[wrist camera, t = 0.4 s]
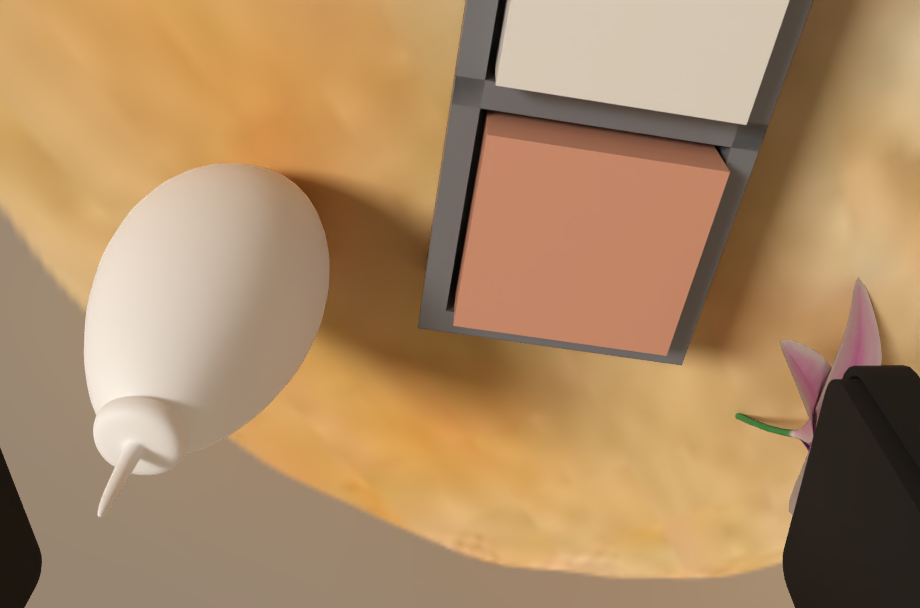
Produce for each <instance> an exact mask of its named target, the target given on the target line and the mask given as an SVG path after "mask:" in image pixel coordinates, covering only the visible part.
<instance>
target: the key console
mask: <svg viewBox="0 0 920 608" xmlns="http://www.w3.org/2000/svg"><path fill="white" fill-rule="evenodd" d="M812 2H813V0H790V1H789V3H788V6H787V9H786V12H785V15H784V18H783V21H782V24H781V27H780V29H779V32H778V35H777V38H776V41H775V44H774V47H773V50H772V53H771V55H770V58H769V61H768V64H767V67H766V70H765V73H764V76H763V79H762V81H761V84H760V87H759V90H758V93H757V96H756V99H755V102H754V105H753V107H752V110H751V113H750V116H749V119H748V122H747V125H743V124H736V123H730V122H724V121H717V120H711V119H705V118H698V117H692V116H686V115H679V114H673V113H667V112H660V111H654V110H648V109H641V108H635V107H629V106H622V105H616V104H610V103H603V102H597V101H591V100H584V99H578V98H572V97H565V96H559V95H553V94H546V93H540V92H534V91H527V90H521V89H515V88H508V87H502V86H496V78H495V61H496V55H497V49H498V44H499V38H500V32H501V26H502V21H503V15H504V9H505V3H506V0H466V1H465V8H464V15H463V21H462V28H461V35H460V42H459V48H458V55H457V62H456V68H455V75H454V82H453V88H452V95H451V102H450V109H449V115H448V122H447V129H446V135H445V142H444V149H443V155H442V162H441V169H440V175H439V182H438V189H437V196H436V202H435V209H434V216H433V222H432V229H431V236H430V242H429V249H428V256H427V262H426V269H425V276H424V284H423V292H422V300H421V308H420V316H419V324H418V328H420V329H428V330H435V331H442V332H449V333H456V334H463V335H470V336H477V337H484V338H491V339H499V340H506V341H513V342H520V343H527V344H534V345H541V346H548V347H555V348H562V349H570V350H577V351H584V352H591V353H598V354H605V355H612V356H619V357H626V358H633V359H641V360H648V361H655V362H662V363H669V364H676V365H682V363H683V360H684V357H685V355H686V352H687V349H688V346H689V344H690V341H691V338H692V335H693V333H694V330H695V327H696V324H697V321H698V319H699V316H700V313H701V310H702V308H703V305H704V302H705V299H706V296H707V294H708V291H709V288H710V285H711V283H712V280H713V277H714V274H715V271H716V269H717V266H718V263H719V260H720V258H721V255H722V252H723V249H724V247H725V244H726V241H727V238H728V235H729V233H730V230H731V227H732V224H733V222H734V219H735V216H736V213H737V210H738V208H739V205H740V202H741V199H742V197H743V194H744V191H745V188H746V185H747V183H748V180H749V177H750V174H751V172H752V169H753V166H754V163H755V160H756V158H757V155H758V152H759V149H760V147H761V144H762V141H763V138H764V136H765V133H766V130H767V127H768V124H769V122H770V119H771V116H772V113H773V111H774V108H775V105H776V102H777V99H778V97H779V94H780V91H781V88H782V86H783V83H784V80H785V77H786V74H787V72H788V69H789V66H790V63H791V61H792V58H793V55H794V52H795V49H796V47H797V44H798V41H799V38H800V36H801V33H802V30H803V27H804V25H805V22H806V19H807V16H808V13H809V11H810V8H811V5H812ZM487 110H494V111H500V112H506V113H513V114H519V115H526V116H532V117H538V118H545V119H551V120H558V121H564V122H571V123H577V124H583V125H590V126H596V127H603V128H609V129H615V130H622V131H628V132H635V133H641V134H647V135H654V136H660V137H667V138H673V139H679V140H686V141H692V142H699V143H705V144H711V145H714V146H715V148H716V150H717V151H718V153H719V155H720V156H721V158H722V160H723V161H724V163H725V165H726V166H727V168H728V170H729V171H730V174H729V177H728V180H727V183H726V186H725V188H724V191H723V194H722V197H721V200H720V203H719V206H718V209H717V212H716V214H715V217H714V220H713V223H712V226H711V229H710V232H709V235H708V238H707V240H706V243H705V246H704V249H703V252H702V255H701V258H700V261H699V264H698V266H697V269H696V272H695V275H694V278H693V281H692V284H691V287H690V290H689V292H688V295H687V298H686V301H685V304H684V307H683V310H682V313H681V316H680V318H679V321H678V324H677V327H676V330H675V333H674V336H673V339H672V342H671V344H670V347H669V350H668V353H667V356H664V355H656V354H649V353H642V352H635V351H628V350H621V349H614V348H607V347H600V346H593V345H586V344H579V343H572V342H564V341H557V340H550V339H543V338H536V337H529V336H522V335H515V334H508V333H501V332H494V331H487V330H480V329H473V328H465V327H458V326H453V321H454V305H455V291H456V285H457V279H458V274H459V268H460V262H461V256H462V251H463V245H464V239H465V233H466V228H467V222H468V216H469V210H470V205H471V199H472V193H473V187H474V182H475V176H476V170H477V164H478V159H479V153H480V147H481V141H482V136H483V130H484V124H485V118H486V113H487Z"/></svg>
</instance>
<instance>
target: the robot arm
mask: <svg viewBox="0 0 920 608" xmlns="http://www.w3.org/2000/svg"><path fill="white" fill-rule="evenodd" d="M41 558H42V557H41V552H40V548H39V546H38V543H37V541H36V539H35V536H34V533H33V531H32V528H31V525H30V523H29V520H28V518H27V515H26V513H25V510H24V508H23V505H22V502H21V500H20V497H19V495H18V492H17V490H16V487H15V485H14V482H13V479H12V477H11V474H10V472H9V469H8V467H7V464H6V461H5V459H4V456H3V454H2V451H1V449H0V608H24V607H25V605H26V604H27V602H28V600H29V598H30V596H31V594H32V592H33V591H34V589H35V587H36V585H37V582H38V580H39V577H40V573H41V565H42V559H41ZM783 572H784V577H785V581H786V584H787V588H788V590H789V593H790V595H791V598H792V601H793V603H794V606H795V608H920V378H919V376H918V375H917V374H916V372H915V371H914V370H912V369H911V368H910V367H908V366H904V365H879V366H852V367H849V368H848V369H847V370H846V372H845V373H844V375H843V378H842V379H834V380H831V381H830V382H829V384H828V386H827V388H826V391H825V395H824V399H823V402H822V406H821V410H820V414H819V418H818V421H817V425H816V429H815V433H814V437H813V440H812V444H811V448H810V452H809V456H808V460H807V463H806V467H805V471H804V475H803V479H802V482H801V486H800V490H799V494H798V498H797V501H796V505H795V509H794V513H793V517H792V521H791V524H790V528H789V532H788V536H787V540H786V543H785V547H784V552H783Z"/></svg>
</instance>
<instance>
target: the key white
mask: <svg viewBox="0 0 920 608" xmlns="http://www.w3.org/2000/svg"><path fill="white" fill-rule="evenodd" d="M789 1H790V0H506V3H505V9H504V15H503V21H502V26H501V32H500V38H499V44H498V49H497V55H496V61H495V78H496V86H502V87H508V88H515V89H521V90H527V91H534V92H540V93H546V94H553V95H559V96H565V97H572V98H578V99H584V100H591V101H597V102H603V103H610V104H616V105H622V106H629V107H635V108H641V109H648V110H654V111H660V112H667V113H673V114H679V115H686V116H692V117H698V118H705V119H711V120H717V121H724V122H730V123H736V124H743V125H747V122H748V119H749V116H750V113H751V110H752V107H753V105H754V102H755V99H756V96H757V93H758V90H759V87H760V84H761V81H762V79H763V76H764V73H765V70H766V67H767V64H768V61H769V58H770V55H771V53H772V50H773V47H774V44H775V41H776V38H777V35H778V32H779V29H780V27H781V24H782V21H783V18H784V15H785V12H786V9H787V6H788V3H789Z"/></svg>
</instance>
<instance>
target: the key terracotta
mask: <svg viewBox="0 0 920 608" xmlns="http://www.w3.org/2000/svg"><path fill="white" fill-rule="evenodd" d="M729 174H730V171H729V170H728V168H727V166H726V165H725V163H724V161H723V160H722V158H721V156H720V155H719V153H718V151H717V150H716V148H715V146H714V145H711V144H705V143H699V142H692V141H686V140H679V139H673V138H667V137H660V136H654V135H647V134H641V133H635V132H628V131H622V130H615V129H609V128H603V127H596V126H590V125H583V124H577V123H571V122H564V121H558V120H551V119H545V118H538V117H532V116H526V115H519V114H513V113H506V112H500V111H494V110H487V113H486V118H485V124H484V130H483V136H482V141H481V147H480V153H479V159H478V164H477V170H476V176H475V182H474V187H473V193H472V199H471V205H470V210H469V216H468V222H467V228H466V233H465V239H464V245H463V251H462V256H461V262H460V268H459V274H458V279H457V285H456V291H455V305H454V321H453V326H458V327H465V328H473V329H480V330H487V331H494V332H501V333H508V334H515V335H522V336H529V337H536V338H543V339H550V340H557V341H564V342H572V343H579V344H586V345H593V346H600V347H607V348H614V349H621V350H628V351H635V352H642V353H649V354H656V355H664V356H667V353H668V350H669V347H670V344H671V342H672V339H673V336H674V333H675V330H676V327H677V324H678V321H679V318H680V316H681V313H682V310H683V307H684V304H685V301H686V298H687V295H688V292H689V290H690V287H691V284H692V281H693V278H694V275H695V272H696V269H697V266H698V264H699V261H700V258H701V255H702V252H703V249H704V246H705V243H706V240H707V238H708V235H709V232H710V229H711V226H712V223H713V220H714V217H715V214H716V212H717V209H718V206H719V203H720V200H721V197H722V194H723V191H724V188H725V186H726V183H727V180H728V177H729Z"/></svg>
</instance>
